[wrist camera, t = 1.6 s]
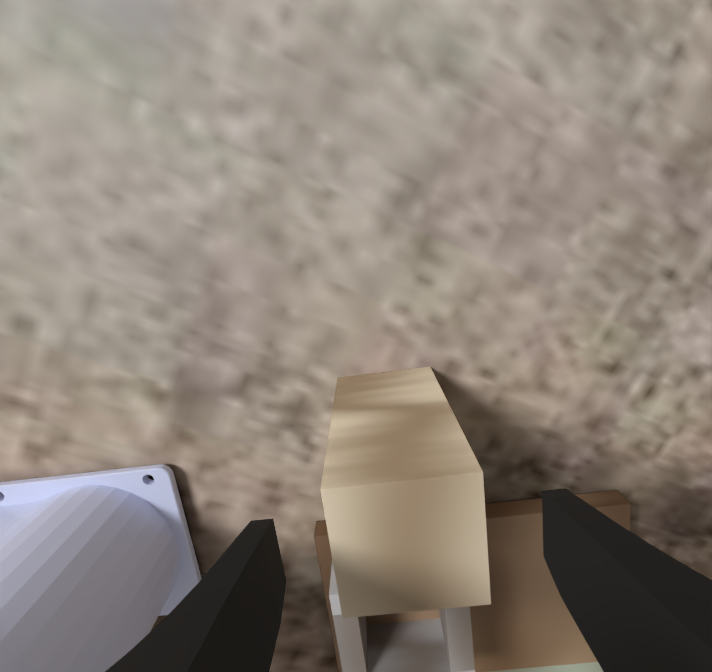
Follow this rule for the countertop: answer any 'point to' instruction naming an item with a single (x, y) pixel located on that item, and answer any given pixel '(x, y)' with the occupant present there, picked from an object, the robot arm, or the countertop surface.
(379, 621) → the socket board
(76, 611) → the robot arm
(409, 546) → the peg
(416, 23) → the countertop surface
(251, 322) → the countertop surface
